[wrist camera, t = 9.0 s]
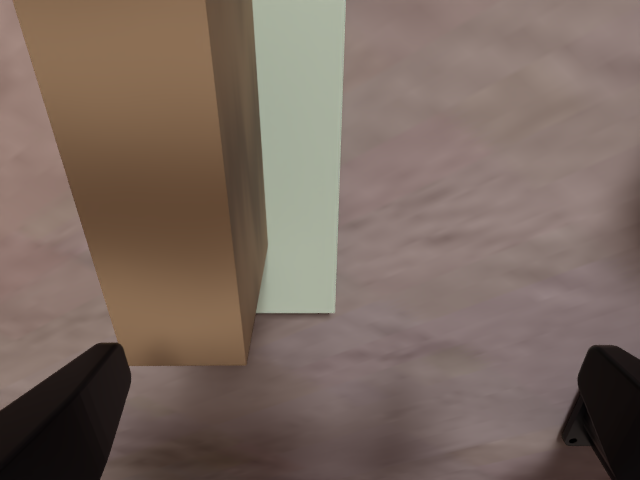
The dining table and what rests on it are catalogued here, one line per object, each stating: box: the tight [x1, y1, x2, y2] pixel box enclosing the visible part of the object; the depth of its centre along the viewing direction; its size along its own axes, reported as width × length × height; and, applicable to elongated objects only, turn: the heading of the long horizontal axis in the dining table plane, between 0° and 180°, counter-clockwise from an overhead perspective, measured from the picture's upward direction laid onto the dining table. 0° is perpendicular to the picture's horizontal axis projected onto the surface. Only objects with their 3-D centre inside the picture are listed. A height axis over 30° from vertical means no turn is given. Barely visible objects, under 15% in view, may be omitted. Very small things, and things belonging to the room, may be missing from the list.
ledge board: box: [252, 0, 346, 313], centre depth 16 cm, size 18×10×4 cm, turn 179°
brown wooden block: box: [13, 0, 268, 366], centre depth 13 cm, size 10×4×7 cm, turn 0°
